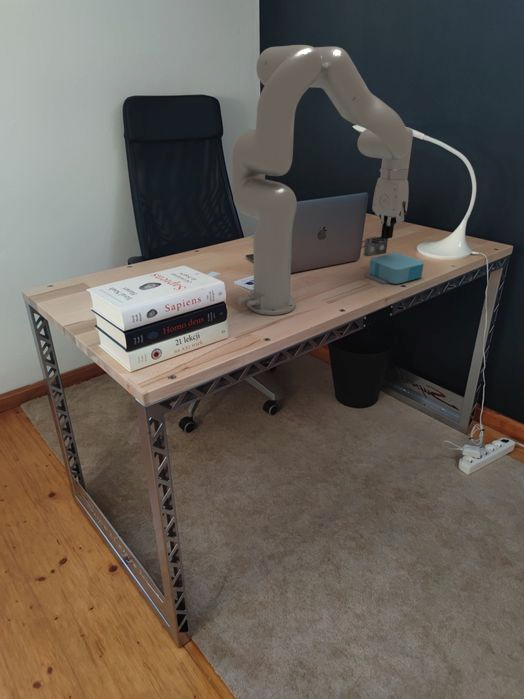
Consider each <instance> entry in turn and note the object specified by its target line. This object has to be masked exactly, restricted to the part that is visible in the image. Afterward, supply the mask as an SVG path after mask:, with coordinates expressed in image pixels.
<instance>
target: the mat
mask: <svg viewBox="0 0 524 699" xmlns="http://www.w3.org/2000/svg"><path fill="white" fill-rule="evenodd" d="M364 277H365V278H367V279H370V280H372V281H374V282H377V283H379V284H381V285H383V286H384V285H387V284H391V283H390V282H388V281H386V280H383V279H381V278H379V277H376V276H374V275H372V274H370V273H368V274H365V275H364Z"/></svg>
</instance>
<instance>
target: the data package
mask: <svg viewBox="0 0 524 699" xmlns="http://www.w3.org/2000/svg"><path fill="white" fill-rule="evenodd" d="M423 270H424V261H423V260H419V259H416V258H415V257H414V258H413V257H410V256H408V255H405V254H402V253H399V252H393V253H387V254H384V255H383V254H382V255H379V256H375V257H371V258H370V259H369V269H368V274H372V275H374V276H376V277H379V278H381V279H383V280H386V281H388V282H390V283H389V284H393V285H394V284H395V285H396V284H397V285H398V284H401V283H402V284H403V283H406V282H409V281H413V280H417V279H421V277H422V276H423Z"/></svg>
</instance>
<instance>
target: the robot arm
mask: <svg viewBox="0 0 524 699" xmlns="http://www.w3.org/2000/svg"><path fill="white" fill-rule="evenodd" d="M255 68H256V70H255V71H256V75H257V78H258V80H259V81H260V83H261V84H262V85H263V88H262V90H261V93H260V95H259V97H258V102H257V106H256V107H257V108H256V121H255V128H254V129H246V130H244V131H243V132H241V133H240V134H239V135H238V136H237V138H236V140H235V142H234V145H233V148H232V158H231V159H232V164H231V166H232V174H231V175H232V199H233V203H234V206H235V208H236V210H237V211H238V212H240V213H241V214H242V215H244V216H247V217H249V218H253V219H256V220H258V224H257V227H256V229H255V232H254V235H253V238H252V239H253V241H252V244H253V245H252V246H253V247H252V248H253V289H250V291H249V293H248V294H247V296H241V297H237V300H236V301H237V304H238V305H239V306H243V305H247V307H248V308H249V309H250V311H253V312H255V313H257V314H260V315H264V316H265V315H268V316H276V315H278V316H279V315H284V314H288V313H290V312H292V311H293V310H294V309H296V304H297V302H296V299H295V298H294V297H292V296H291V278H292V277H291V274H292V273H291V272H292V270H291V269H292V240H293V239H292V238H293V237H292V236H293V226H294V221H295V216H296V213H297V208H298V205H297V204H298V203H297V197H296V195H295V192H294V190H292V188H290V187H289V186H287V185H286V184H284V183H282V182H278V181H273V180H269V179H266V176H268V177H269V176H271V177H272V176H273V177H280V176H284V175H286V174H287V173H288V172H289V171H290V169H291V166H292V163H293V157H294V156H293V155H294V154H293V152H294V130H295V129H294V128H295V118H296V115H295V114H296V110H297V106H298V104H299V101H300V100H301V98H302V96H303V95H304V94H305V93H306V91H307V90H309V88H318V89H319V88H320V89H322V90H323V91H324V92H325V94H326V95H327V96H328V98H329V100H330V101H331V102H332V104H333V106H334V107H335V108H336V110H337V112H338V113H339V115H340V116H341V117H342V118H343V119H345V120H346V121H348V122H349V123H351V124H354V125H357V126H358V127H362V128H364V130H362V132H361V133H360V134H359V137H358V139H357V149H358V150H359V152H360V154H362V155H363V156H365V157H368V158H375V159H382V161H381V167H380V168H379V172H380V177H377V178H378V179H377V182H376V185H375V187H374V188H375V189H374V192H373V193H374V194H373V199H372V207H371V208H372V212H374V214H375V215H376V216H378V217H379V219H380V224H381V225H382V226H381V235H380V236H381V238H384V239H392V238H393V234H394V228H395V225H397V223H398V222H399V223H400V222H404V221H405V216H406V215H407V211H408V204H409V188H410V187H409V180H408V175H409V168H410V161H411V160H410V159H411V155H412V154H411V153H412V147H413V146H412V145H413V138H414V137H413V136H414V131H413V129H412V128H410V127H406V125H405V123H404V122H403V120H402V118H401V116H400V115H399V114H398V113H397V112H396V111H395V110H394V109H393V108H391V107H390V106H389V105H388V104H386V103H385V102H384V101H383V100H381V99H380V98H379V97H377V96H376V95H374V94H373V93H372V92H371V91H370V90H369V88H368V87H367V84H366V82H365V81H364V79H363V78H362V75H361V74H360V73H359V71H358V69H357V67H356V65H355V64H354V62H353V60H352V58H351V57H350V55H349V54H348V52H347V51H346V50H345V49H344V48H342V47H339V46H319V47H317V46H316V47H314V46H313V45H307V44H291V45H283V46H281V45H280V46H271V47H268V48H266V49H264V50H263V51H262V52H261V53H260V55H259V56H258V58H257V61H256V67H255Z"/></svg>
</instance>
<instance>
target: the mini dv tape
mask: <svg viewBox="0 0 524 699" xmlns="http://www.w3.org/2000/svg"><path fill="white" fill-rule="evenodd" d="M388 239H389V238H388ZM388 239H384V238H381V235H379V236H372V237H369V238H368V237H367V238H365V240H364V249H363V256H365V257H372V256H377V255H383V254H384V255H385V254H386V253H387V249H388V248H387V247H388Z"/></svg>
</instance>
